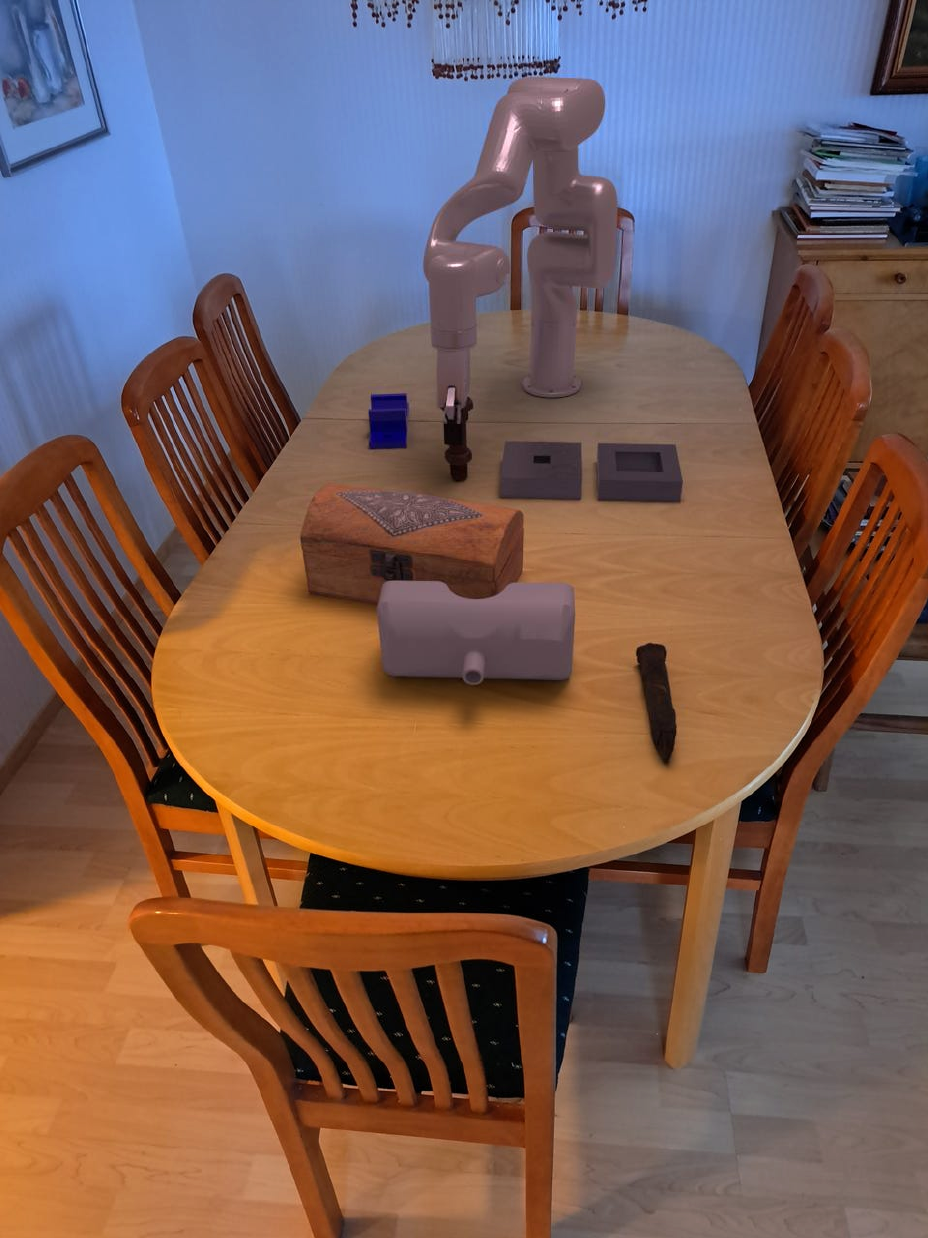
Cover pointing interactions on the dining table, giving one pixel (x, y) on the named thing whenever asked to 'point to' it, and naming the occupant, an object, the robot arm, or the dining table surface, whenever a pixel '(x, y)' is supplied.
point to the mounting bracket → (388, 421)
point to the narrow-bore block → (541, 470)
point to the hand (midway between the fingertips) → (456, 431)
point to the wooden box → (407, 543)
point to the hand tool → (658, 697)
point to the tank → (477, 632)
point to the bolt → (459, 448)
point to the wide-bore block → (638, 472)
